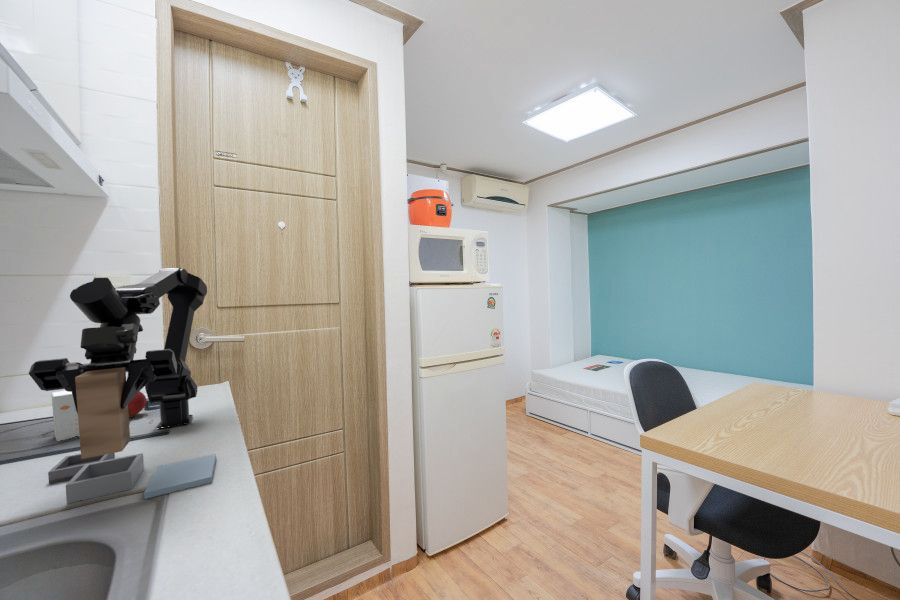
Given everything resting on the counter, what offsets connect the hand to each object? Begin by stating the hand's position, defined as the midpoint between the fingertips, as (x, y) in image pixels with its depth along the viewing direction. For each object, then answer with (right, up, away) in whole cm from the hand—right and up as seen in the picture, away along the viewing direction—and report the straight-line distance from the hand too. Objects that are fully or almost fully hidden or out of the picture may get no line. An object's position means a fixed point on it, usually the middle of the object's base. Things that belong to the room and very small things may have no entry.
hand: (101, 410), depth 60 cm
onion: (-27, -13, +36) cm, 47 cm away
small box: (-30, -14, +25) cm, 41 cm away
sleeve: (0, -13, +2) cm, 13 cm away
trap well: (-11, -13, +7) cm, 19 cm away
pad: (+11, -13, +4) cm, 18 cm away
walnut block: (0, -7, +2) cm, 7 cm away
